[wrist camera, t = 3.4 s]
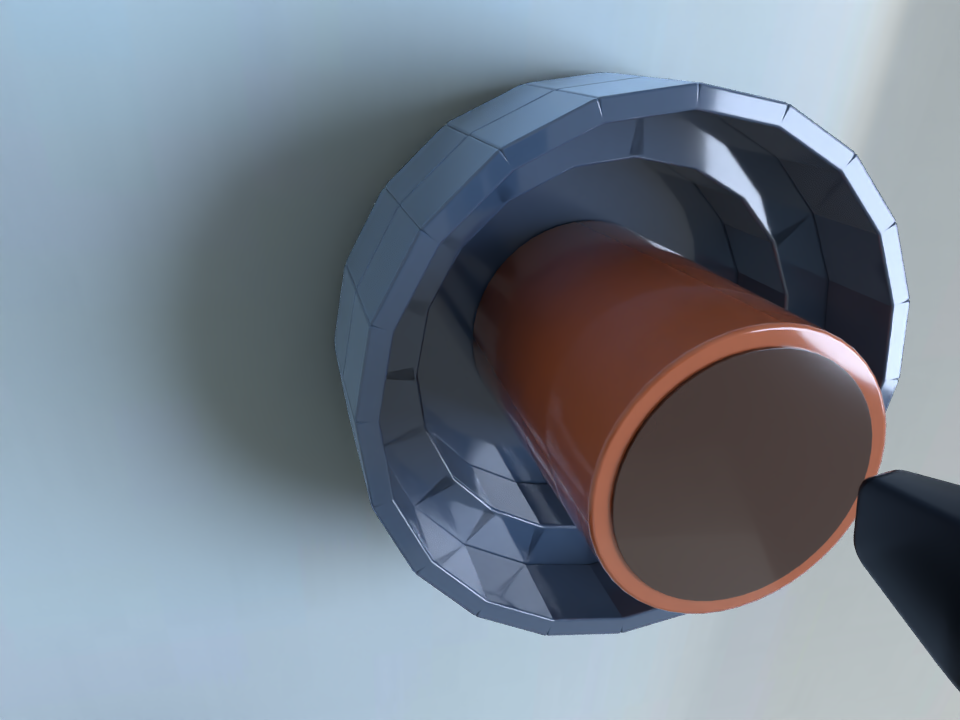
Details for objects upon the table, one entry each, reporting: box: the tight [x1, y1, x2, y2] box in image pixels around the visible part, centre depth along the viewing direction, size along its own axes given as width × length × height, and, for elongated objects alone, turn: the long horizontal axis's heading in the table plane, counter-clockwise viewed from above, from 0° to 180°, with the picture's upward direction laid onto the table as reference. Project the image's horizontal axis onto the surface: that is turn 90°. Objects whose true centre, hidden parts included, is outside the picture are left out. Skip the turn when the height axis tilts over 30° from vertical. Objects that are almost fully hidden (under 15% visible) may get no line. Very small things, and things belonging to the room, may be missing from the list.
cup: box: [473, 221, 886, 614], centre depth 17 cm, size 6×6×8 cm
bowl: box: [334, 72, 910, 636], centre depth 19 cm, size 13×13×5 cm
